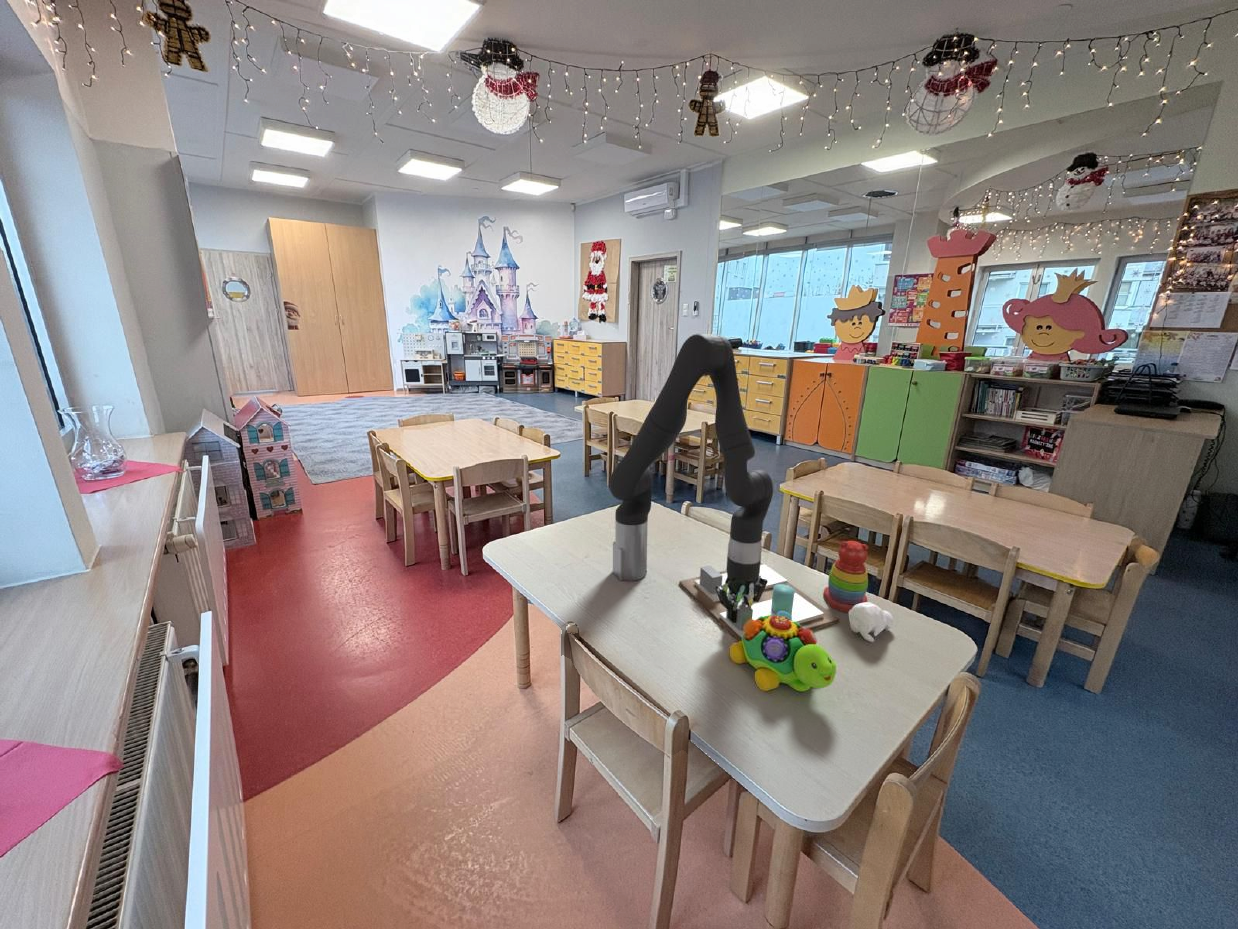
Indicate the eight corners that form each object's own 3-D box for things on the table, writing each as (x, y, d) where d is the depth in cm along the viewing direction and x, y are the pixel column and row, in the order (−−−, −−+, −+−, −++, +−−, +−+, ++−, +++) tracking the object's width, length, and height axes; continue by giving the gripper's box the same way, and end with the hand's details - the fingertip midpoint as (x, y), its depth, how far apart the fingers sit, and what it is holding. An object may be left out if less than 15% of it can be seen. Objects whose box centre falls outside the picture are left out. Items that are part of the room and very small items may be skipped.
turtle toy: (791, 726, 94) (797, 674, 90) (719, 651, 114) (722, 606, 111) (857, 699, 100) (866, 649, 97) (778, 633, 121) (783, 590, 117)
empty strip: (714, 602, 131) (715, 581, 129) (694, 583, 140) (695, 564, 138) (787, 583, 140) (789, 564, 138) (764, 567, 148) (765, 548, 147)
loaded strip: (743, 640, 116) (745, 617, 114) (719, 616, 125) (720, 595, 123) (823, 616, 125) (826, 595, 123) (795, 596, 134) (797, 576, 132)
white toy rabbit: (848, 599, 119) (882, 591, 124) (841, 631, 121) (874, 622, 126) (872, 613, 113) (906, 604, 119) (864, 646, 115) (897, 636, 121)
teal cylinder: (780, 618, 122) (782, 596, 121) (766, 607, 127) (769, 586, 125) (796, 613, 124) (799, 592, 122) (782, 603, 129) (785, 582, 127)
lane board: (746, 650, 114) (746, 646, 114) (679, 584, 141) (679, 581, 141) (839, 622, 125) (839, 618, 124) (759, 565, 152) (760, 562, 152)
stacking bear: (866, 598, 135) (877, 538, 130) (867, 618, 126) (878, 554, 121) (824, 588, 139) (832, 530, 134) (821, 607, 131) (830, 545, 125)
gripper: (728, 568, 109) (723, 635, 114) (779, 556, 115) (772, 621, 120) (709, 553, 116) (705, 617, 121) (758, 542, 121) (752, 604, 126)
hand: (738, 619), depth 120 cm, fingers closed on loaded strip, 3 cm apart
